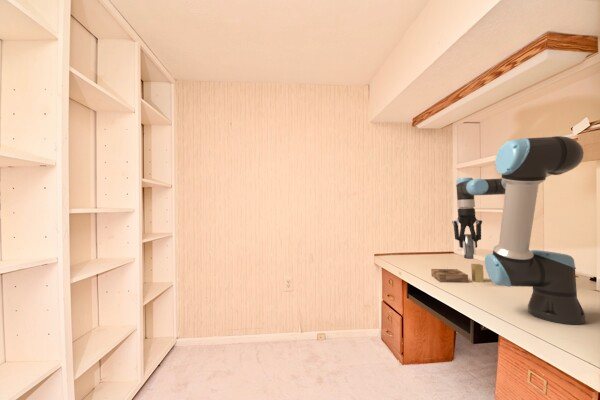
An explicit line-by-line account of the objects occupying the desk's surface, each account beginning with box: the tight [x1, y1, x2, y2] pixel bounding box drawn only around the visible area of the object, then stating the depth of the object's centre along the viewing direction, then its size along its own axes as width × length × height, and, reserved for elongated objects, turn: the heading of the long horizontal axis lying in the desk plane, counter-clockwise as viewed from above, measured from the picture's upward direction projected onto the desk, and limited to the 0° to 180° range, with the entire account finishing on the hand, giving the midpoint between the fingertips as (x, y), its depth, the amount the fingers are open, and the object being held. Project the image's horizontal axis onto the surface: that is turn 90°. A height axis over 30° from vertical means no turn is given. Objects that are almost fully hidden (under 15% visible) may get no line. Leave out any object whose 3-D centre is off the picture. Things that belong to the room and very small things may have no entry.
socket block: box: [430, 268, 469, 283], centre depth 149 cm, size 14×14×4 cm
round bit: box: [463, 233, 475, 260], centre depth 135 cm, size 4×4×12 cm
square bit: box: [470, 263, 485, 283], centre depth 143 cm, size 4×4×9 cm
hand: (468, 254), depth 135 cm, fingers closed on round bit, 4 cm apart
